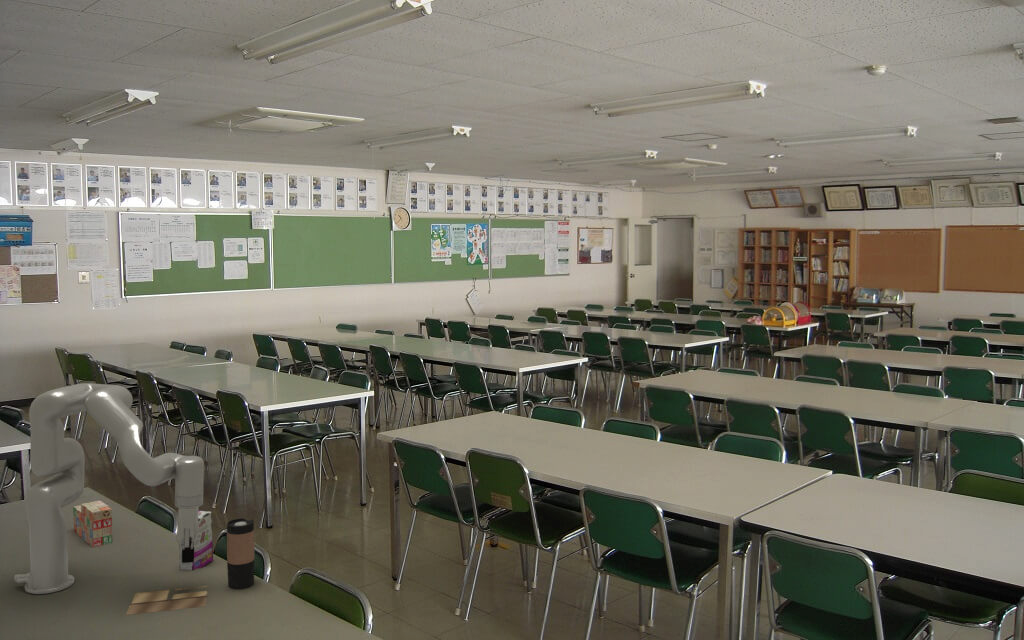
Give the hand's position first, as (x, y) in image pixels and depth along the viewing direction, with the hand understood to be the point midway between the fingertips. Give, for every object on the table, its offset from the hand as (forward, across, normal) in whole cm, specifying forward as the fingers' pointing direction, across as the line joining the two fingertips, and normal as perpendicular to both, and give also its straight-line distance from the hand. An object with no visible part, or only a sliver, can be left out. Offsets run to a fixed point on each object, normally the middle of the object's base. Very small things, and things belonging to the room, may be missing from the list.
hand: (187, 561), depth 227 cm
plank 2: (+10, +2, +1) cm, 10 cm away
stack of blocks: (+12, -59, -36) cm, 70 cm away
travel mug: (+9, 0, +15) cm, 17 cm away
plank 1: (+10, +2, -9) cm, 14 cm away
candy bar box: (+10, -20, +1) cm, 23 cm away
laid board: (+10, +10, -4) cm, 14 cm away
